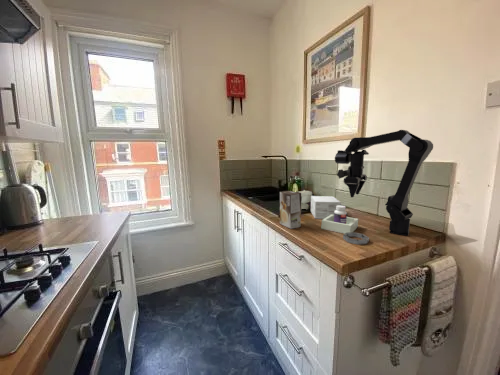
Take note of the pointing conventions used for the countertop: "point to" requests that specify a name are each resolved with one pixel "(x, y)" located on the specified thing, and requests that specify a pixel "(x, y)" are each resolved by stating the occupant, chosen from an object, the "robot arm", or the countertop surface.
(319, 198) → the supplement box
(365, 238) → the collar
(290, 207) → the coffee box
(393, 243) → the countertop surface
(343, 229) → the bin
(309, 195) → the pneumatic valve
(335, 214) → the pill bottle
